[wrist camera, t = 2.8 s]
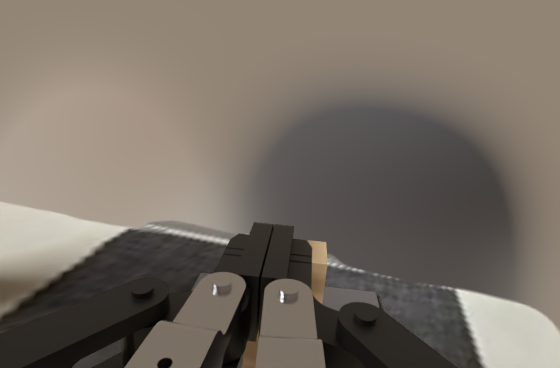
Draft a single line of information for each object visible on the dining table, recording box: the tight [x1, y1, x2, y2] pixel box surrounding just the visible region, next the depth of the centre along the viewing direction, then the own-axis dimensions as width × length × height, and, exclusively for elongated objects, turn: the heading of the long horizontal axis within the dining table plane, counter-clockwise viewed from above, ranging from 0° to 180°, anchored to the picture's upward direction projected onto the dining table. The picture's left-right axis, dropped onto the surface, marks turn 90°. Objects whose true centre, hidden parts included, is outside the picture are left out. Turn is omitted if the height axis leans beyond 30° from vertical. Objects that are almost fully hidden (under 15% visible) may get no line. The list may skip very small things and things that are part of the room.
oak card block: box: [241, 234, 327, 368], centre depth 27 cm, size 6×3×14 cm, turn 85°
